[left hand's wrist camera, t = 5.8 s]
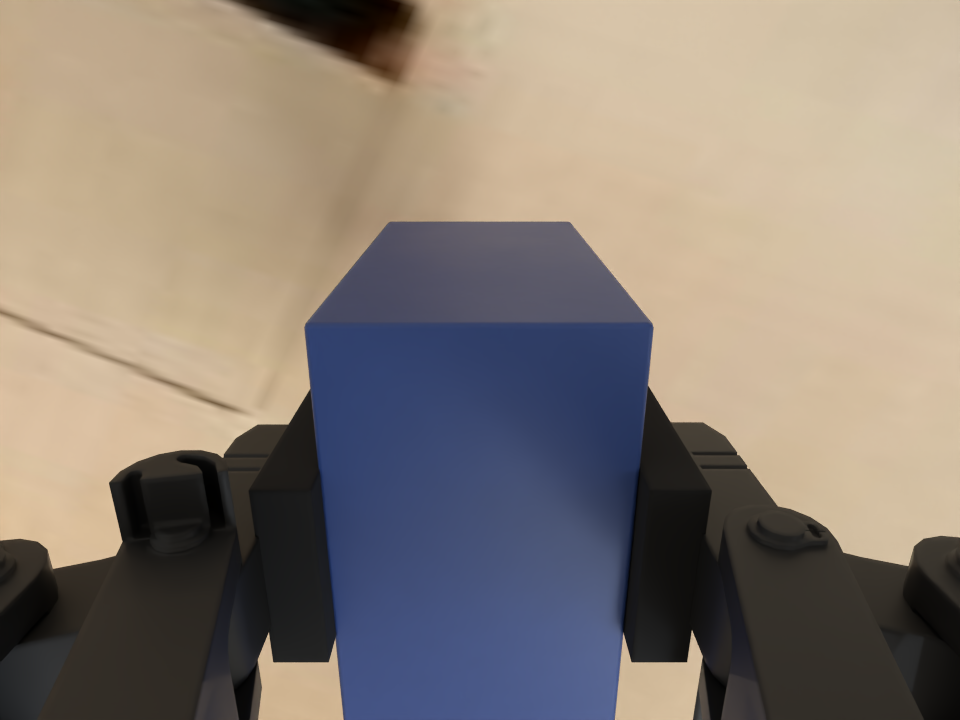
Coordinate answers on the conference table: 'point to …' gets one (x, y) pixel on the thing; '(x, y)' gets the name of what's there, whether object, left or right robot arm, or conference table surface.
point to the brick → (479, 471)
